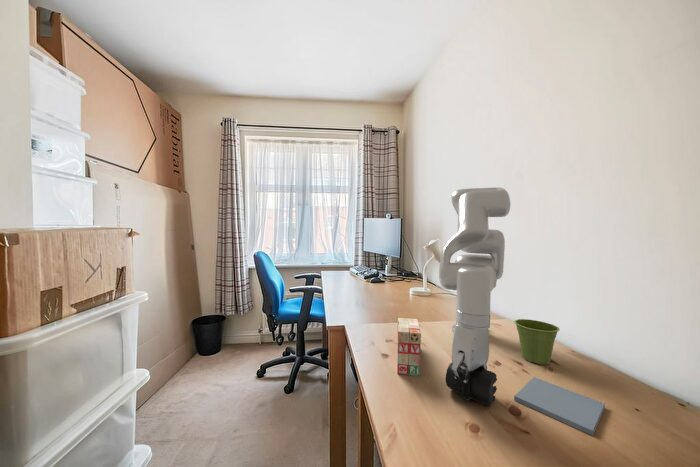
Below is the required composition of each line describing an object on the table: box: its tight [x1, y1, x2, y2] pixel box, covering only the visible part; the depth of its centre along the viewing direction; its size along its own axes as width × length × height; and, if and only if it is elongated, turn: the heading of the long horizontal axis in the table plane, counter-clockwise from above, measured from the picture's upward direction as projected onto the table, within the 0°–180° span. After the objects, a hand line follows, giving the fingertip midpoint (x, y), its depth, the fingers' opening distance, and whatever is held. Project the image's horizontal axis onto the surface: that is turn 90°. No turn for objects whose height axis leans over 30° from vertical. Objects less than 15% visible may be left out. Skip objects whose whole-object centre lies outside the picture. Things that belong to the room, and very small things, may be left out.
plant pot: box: [513, 318, 560, 365], centre depth 84 cm, size 12×12×11 cm
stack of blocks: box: [396, 317, 422, 377], centre depth 84 cm, size 21×6×12 cm, turn 170°
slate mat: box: [513, 376, 606, 437], centre depth 62 cm, size 14×14×1 cm
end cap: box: [445, 362, 498, 407], centre depth 64 cm, size 10×7×7 cm
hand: (471, 390), depth 64 cm, fingers closed on end cap, 7 cm apart
